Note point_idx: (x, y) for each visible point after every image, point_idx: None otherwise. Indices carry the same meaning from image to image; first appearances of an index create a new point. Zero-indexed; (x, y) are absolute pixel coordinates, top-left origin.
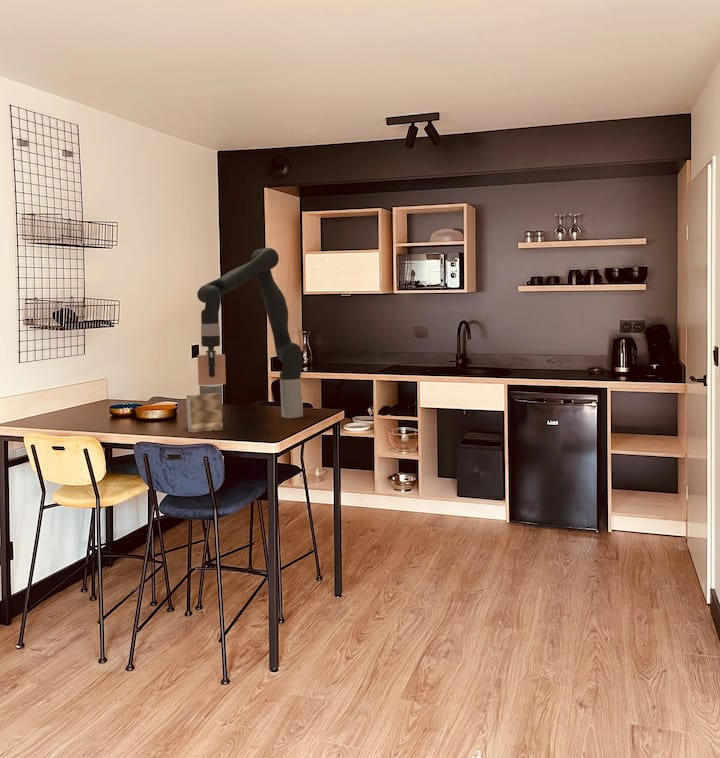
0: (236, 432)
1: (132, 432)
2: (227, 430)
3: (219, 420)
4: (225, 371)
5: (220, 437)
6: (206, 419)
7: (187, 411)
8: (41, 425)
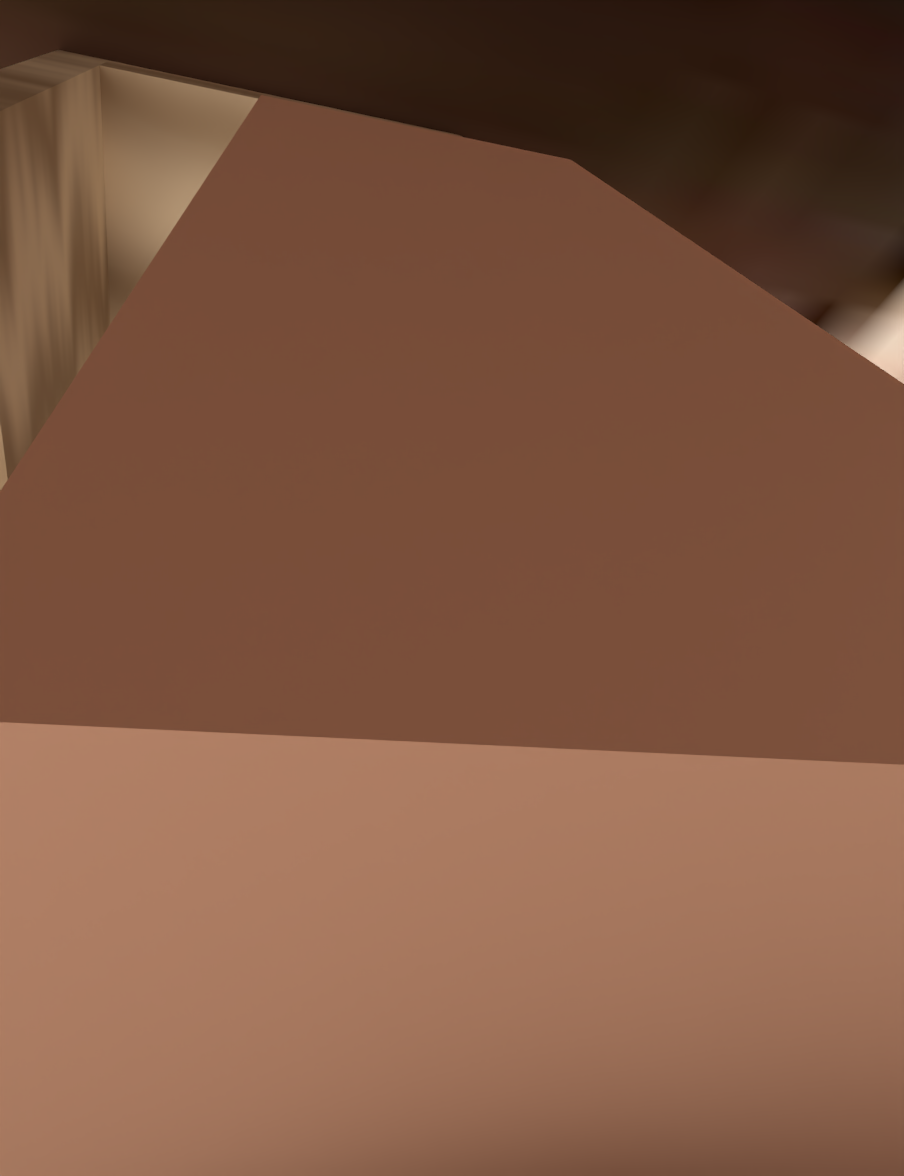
0: (708, 10)
1: None
2: (517, 88)
3: (96, 106)
4: (702, 249)
5: (826, 255)
6: (99, 291)
7: None
8: None
